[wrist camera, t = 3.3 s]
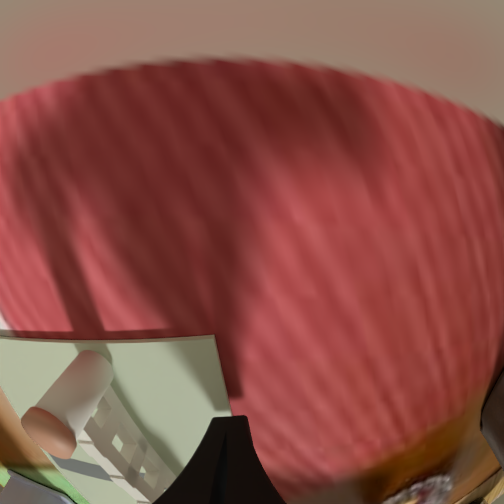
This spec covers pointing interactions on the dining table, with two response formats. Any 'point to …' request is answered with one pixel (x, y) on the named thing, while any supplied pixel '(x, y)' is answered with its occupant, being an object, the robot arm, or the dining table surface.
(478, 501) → the spread jar
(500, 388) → the plant pot
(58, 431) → the fence panel
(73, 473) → the card
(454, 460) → the dining table surface
